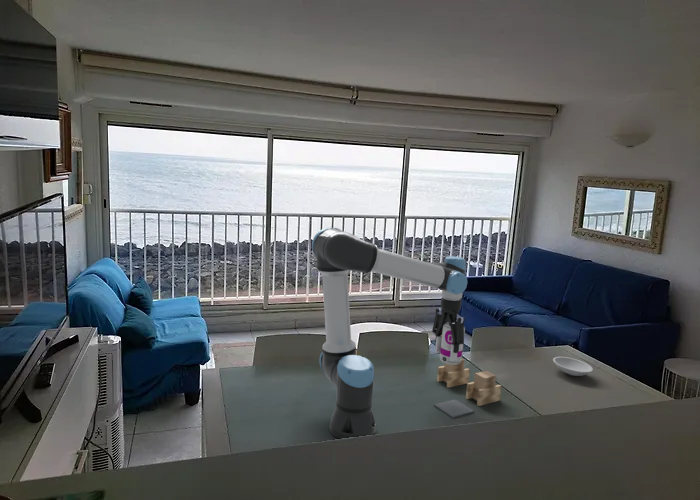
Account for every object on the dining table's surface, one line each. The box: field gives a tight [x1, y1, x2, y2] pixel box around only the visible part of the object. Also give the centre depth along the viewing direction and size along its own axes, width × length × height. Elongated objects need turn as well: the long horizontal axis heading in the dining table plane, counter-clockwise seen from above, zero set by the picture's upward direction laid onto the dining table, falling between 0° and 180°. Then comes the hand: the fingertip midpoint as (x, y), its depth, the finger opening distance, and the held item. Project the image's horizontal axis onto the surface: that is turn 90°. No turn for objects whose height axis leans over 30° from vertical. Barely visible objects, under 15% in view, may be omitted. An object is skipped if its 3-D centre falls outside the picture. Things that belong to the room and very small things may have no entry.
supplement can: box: [439, 322, 466, 365], centre depth 186 cm, size 8×8×15 cm
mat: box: [433, 399, 475, 419], centre depth 178 cm, size 10×10×1 cm
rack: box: [436, 358, 502, 407], centre depth 194 cm, size 11×24×10 cm, turn 30°
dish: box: [552, 356, 594, 377], centre depth 215 cm, size 18×14×5 cm
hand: (445, 356), depth 185 cm, fingers closed on supplement can, 8 cm apart
